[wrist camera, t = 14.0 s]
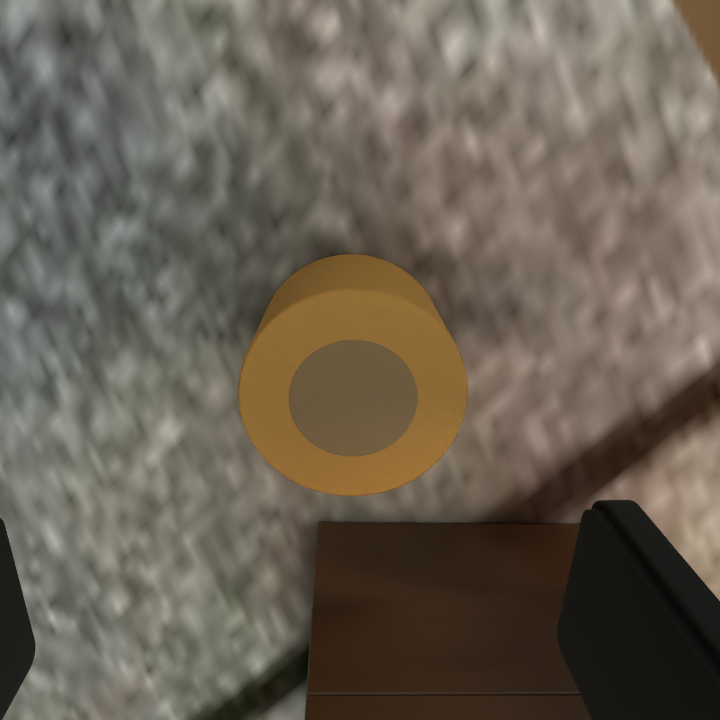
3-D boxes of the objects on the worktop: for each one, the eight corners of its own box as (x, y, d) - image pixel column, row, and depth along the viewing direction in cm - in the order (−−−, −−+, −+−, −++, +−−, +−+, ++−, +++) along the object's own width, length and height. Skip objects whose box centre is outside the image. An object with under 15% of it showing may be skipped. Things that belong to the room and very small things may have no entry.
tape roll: (265, 422, 22) (244, 497, 17) (256, 252, 19) (229, 286, 15) (434, 423, 22) (458, 497, 17) (447, 254, 19) (478, 289, 15)
